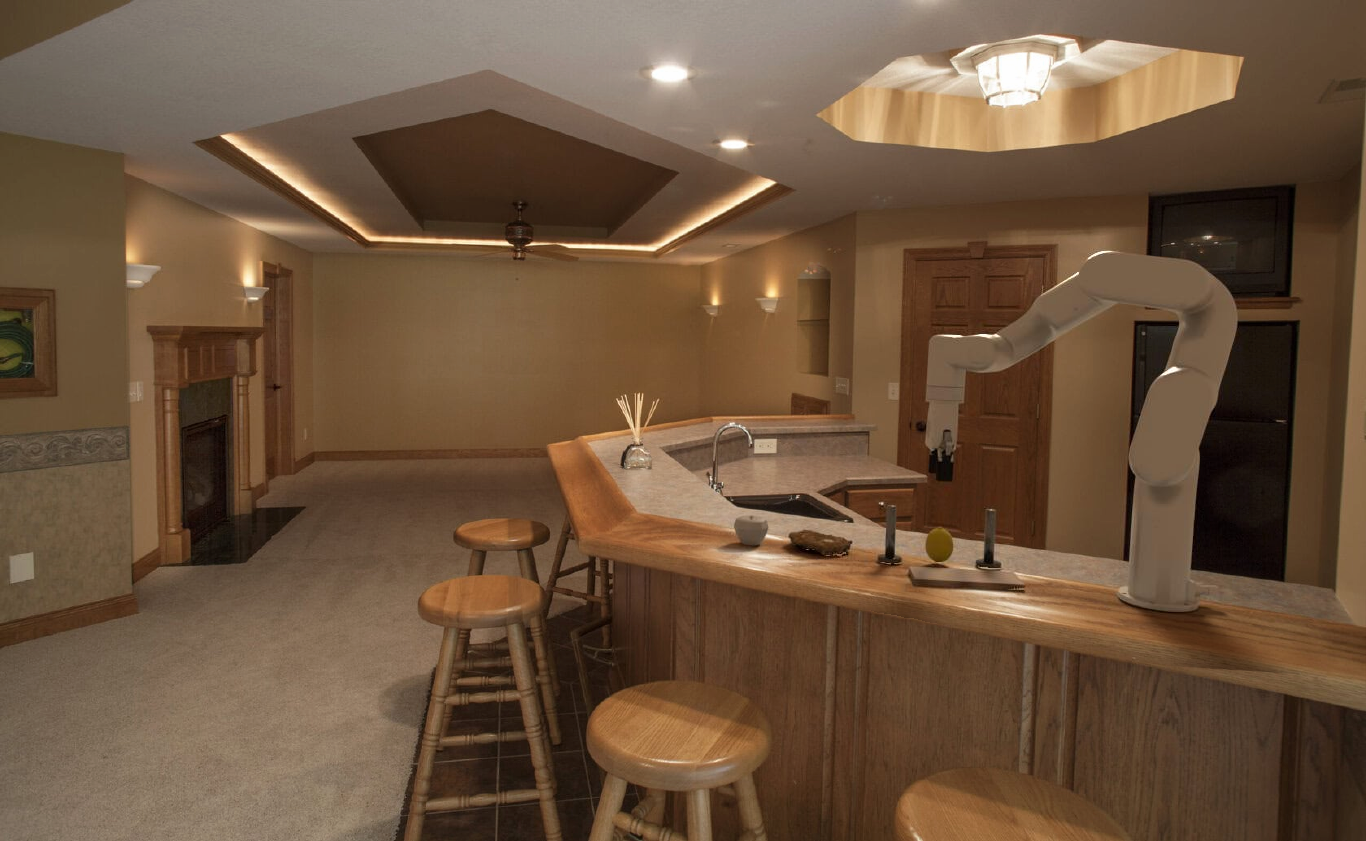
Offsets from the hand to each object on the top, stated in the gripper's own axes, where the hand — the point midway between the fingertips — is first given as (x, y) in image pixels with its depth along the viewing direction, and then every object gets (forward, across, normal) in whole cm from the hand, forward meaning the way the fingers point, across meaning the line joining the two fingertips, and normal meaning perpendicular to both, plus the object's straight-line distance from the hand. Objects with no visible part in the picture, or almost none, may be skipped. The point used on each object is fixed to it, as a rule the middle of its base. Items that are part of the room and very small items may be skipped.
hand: (939, 477), depth 168 cm
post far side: (+19, 0, -9) cm, 21 cm away
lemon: (+19, 0, +1) cm, 19 cm away
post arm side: (+18, 0, +11) cm, 21 cm away
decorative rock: (+19, -8, -24) cm, 32 cm away
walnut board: (+18, +12, +4) cm, 22 cm away
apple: (+19, -10, -39) cm, 45 cm away
